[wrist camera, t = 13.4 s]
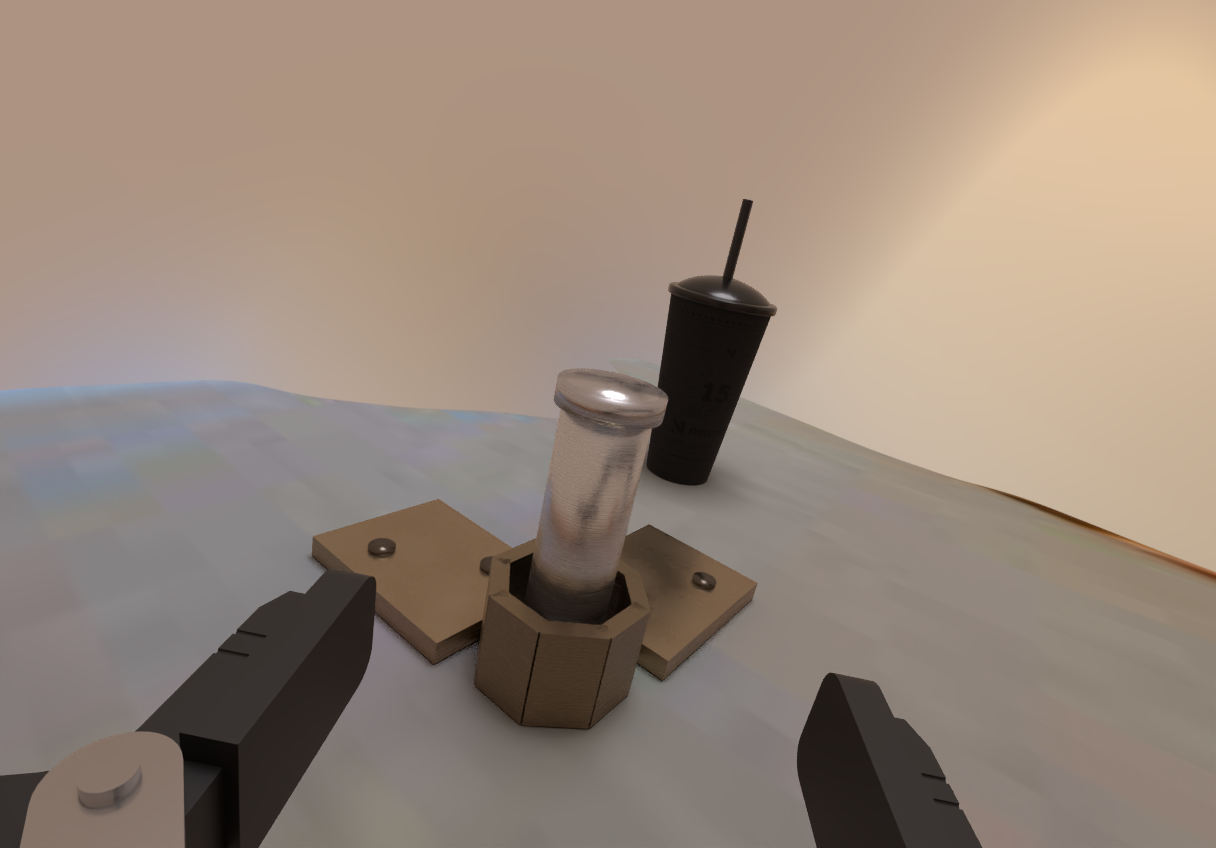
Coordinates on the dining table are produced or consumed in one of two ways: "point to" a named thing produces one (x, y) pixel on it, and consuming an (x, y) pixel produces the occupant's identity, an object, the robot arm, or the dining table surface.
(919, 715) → the dining table surface
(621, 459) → the hinge pin
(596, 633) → the hinge base
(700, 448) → the drinking cup
